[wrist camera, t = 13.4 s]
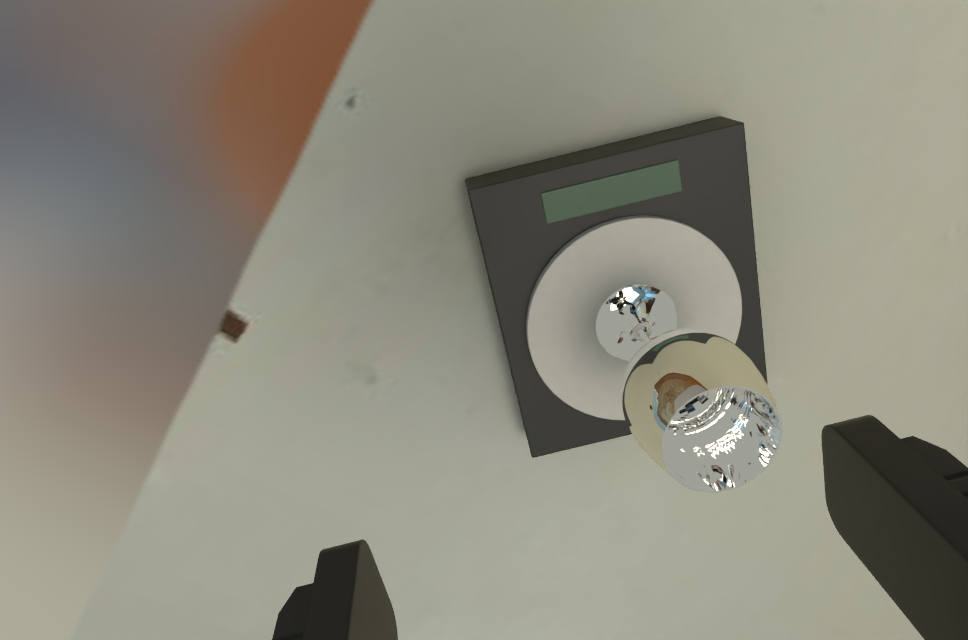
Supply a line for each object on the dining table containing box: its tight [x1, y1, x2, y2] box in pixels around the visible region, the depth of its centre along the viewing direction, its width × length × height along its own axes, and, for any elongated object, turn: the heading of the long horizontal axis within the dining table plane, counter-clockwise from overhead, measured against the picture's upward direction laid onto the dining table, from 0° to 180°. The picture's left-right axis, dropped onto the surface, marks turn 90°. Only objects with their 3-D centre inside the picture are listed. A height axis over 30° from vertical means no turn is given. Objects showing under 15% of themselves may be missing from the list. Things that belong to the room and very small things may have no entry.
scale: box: [465, 116, 768, 458], centre depth 40 cm, size 16×14×4 cm
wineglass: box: [595, 283, 782, 492], centre depth 33 cm, size 6×6×12 cm
